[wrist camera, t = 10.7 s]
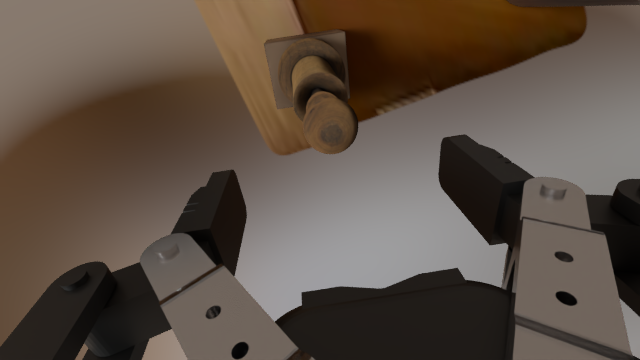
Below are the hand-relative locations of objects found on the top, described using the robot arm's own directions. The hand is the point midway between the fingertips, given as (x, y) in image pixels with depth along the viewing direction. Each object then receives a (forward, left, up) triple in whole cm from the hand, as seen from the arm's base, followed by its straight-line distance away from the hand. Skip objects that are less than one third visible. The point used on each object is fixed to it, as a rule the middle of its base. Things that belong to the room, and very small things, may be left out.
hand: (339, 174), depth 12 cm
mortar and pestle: (0, 0, -22) cm, 22 cm away
